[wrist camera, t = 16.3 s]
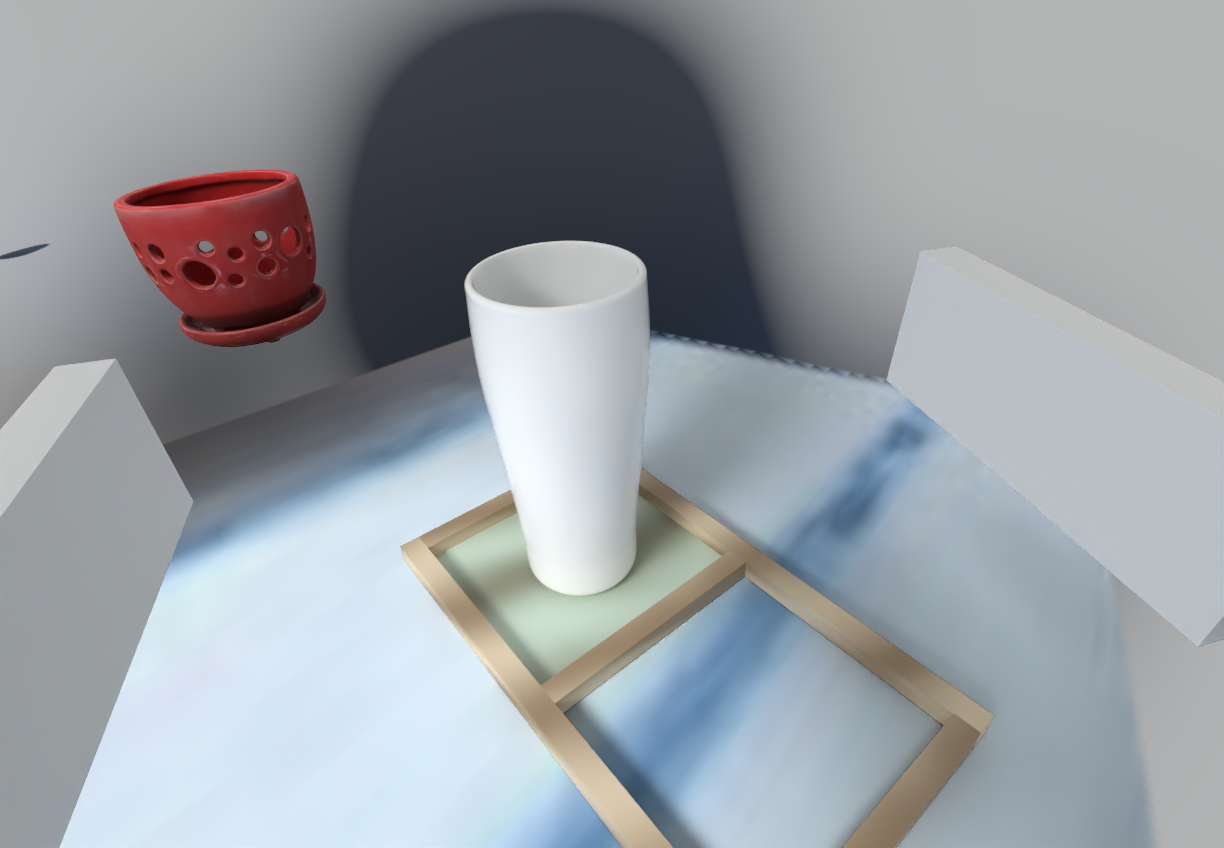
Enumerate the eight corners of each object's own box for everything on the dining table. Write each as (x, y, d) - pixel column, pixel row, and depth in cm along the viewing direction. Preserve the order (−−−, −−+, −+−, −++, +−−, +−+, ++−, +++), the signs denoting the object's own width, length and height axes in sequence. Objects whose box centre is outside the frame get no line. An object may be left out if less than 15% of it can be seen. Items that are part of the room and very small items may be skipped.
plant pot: (368, 312, 58) (329, 173, 51) (224, 375, 50) (155, 219, 43) (290, 283, 65) (246, 157, 58) (151, 334, 56) (81, 193, 50)
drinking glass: (511, 523, 34) (461, 248, 26) (635, 504, 35) (628, 231, 27) (519, 627, 29) (459, 321, 20) (666, 601, 30) (669, 297, 21)
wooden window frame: (405, 560, 33) (400, 546, 32) (604, 454, 39) (603, 441, 39) (757, 1026, 18) (761, 1015, 17) (986, 730, 24) (994, 715, 24)
